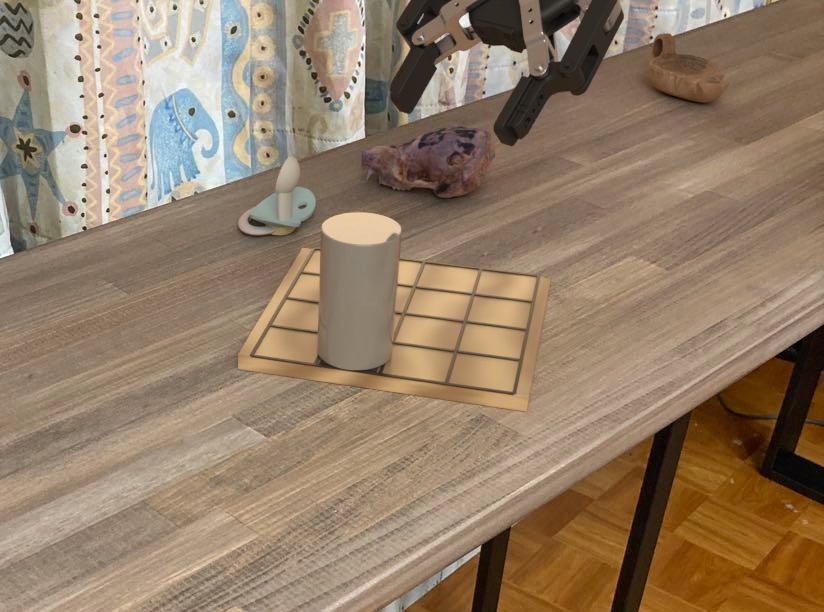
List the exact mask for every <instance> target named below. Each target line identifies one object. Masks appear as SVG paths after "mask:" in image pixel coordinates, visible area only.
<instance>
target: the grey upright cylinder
mask: <svg viewBox="0 0 824 612" xmlns="http://www.w3.org/2000/svg"><path fill="white" fill-rule="evenodd" d="M402 235H403V229H402V226H401V224H400V223H398V222H397V221H396V220H394V219H393V218H391V217H388V216H386V215H382V214H378V213H373V212H361V211H359V212H356V211H355V212H345V213H339V214H336V215H333V216H331V217H329V218H327V219H325V221H324V222H322V223H321V226H320V246H319V248H320V276H319V307H318V339H317V352H318V355H319V357H320V358H321V359H322V360H323V361H324V362H326V363H327V364H329V365H331V366H334V367H337V368H340V369H345V370H368V369H373V368H377V367H379V366H382V365H383V364H385V363H386V362H388V361H389V359H390V358H391V356H392V351H393V338H394V326H395V313H396V301H397V288H398V275H399V263H400V258H401V249H402Z"/></svg>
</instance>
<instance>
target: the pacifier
mask: <svg viewBox="0 0 824 612" xmlns="http://www.w3.org/2000/svg"><path fill="white" fill-rule="evenodd" d="M298 161H299V160H297V159H296V158H295V157H294V156H292V155H290V156H288V157H286V159H285V160H284V162H283V164H282V166H281V168H280V170H279V173H278V176H277V179H276V182H275V187H274V188H275V189H274V190H275V191H274V192H273V193H272V194H270V195H269V196H267V197H266V198H264V199H263V200H262V201H261V202H259V203H258V204H257V205H256V206H253V207H251V208H249V209H248V210H246V211H245V212H243V213H242V214H241V216H240V217H238V218H239V219H238V221H237V227H238V228H239V230H240V231H241V232H243V233H244V234H247V235H251V236H267V235H272V236H286V235H290V234H292V233H293V232H294V231H295V230H296V229H297V228H300V227H301V223H302V222H304V221H306V220H308V219H310V218H311V216H313V214H314V212H315V209H316V205H317V202H316V201H317V199H316V197H315V194H314V193H313V192H312V191H311V190H309V189H308V188H306V187H303V186H297V185H298V183H299V180H300V177H301V165H300V164H299V162H298ZM301 206H305V207H304V208H299V207H301ZM251 220H254V221H256V222H259V223H262V224H265V225H264V226H256V225H252V224H251V223H250V222H251Z"/></svg>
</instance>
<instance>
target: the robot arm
mask: <svg viewBox="0 0 824 612" xmlns="http://www.w3.org/2000/svg"><path fill="white" fill-rule="evenodd" d="M467 14H468V21H469V22H468V23H469V24H470V25H469V26H466V27H465V26H464V27H463V26H462V25H461V23H460V20H461V19H462V18H463V17H464V16H465V15H467ZM577 18H578V19H579V25H578V26H577V28H576V30H575V32H574V35H572V38H571V40H570V42H569V44H568V45H567V48H566V49H565V51H564V54H563V56H562V58H561V60H559V55H558V46H557V40H556V38H557V37H556V33H557V32H558V31H560V30H562V29H563V28H564V27H566V26H567V25H569V24H571V23H572V22H574V21H575V20H577ZM624 19H625V13H624V11H623V8H622V4H621V2H620V0H409V2H408V3H407V5H406V6H405V8H404V10H403V11H402V12H401V14H400V16H399V18H398V19H397V21H396V24H395V27H396V29H397V31H398V32H399V34H400V36H401V37H402V38H403V40H404V41H405V43H406V44H407V46H408V48H409V50H408V53H407V54H406V56H405V58H404V59H403V61H402V63H401V65H400V66H399V68H398V70H397V72H396V73H395V76H394V77H393V79H392V80H391V82H390V86H389V91H390V93H389V94H390V96H389V97H390V100H391V102H392V104H393V105H394V106H395V107H396V109H397V110H398V111H399V112H400V113H403V114H406V115H411V114H412V113H413V112H414V110H415V109H416V106H417V105H418V103H419V102H420V99H421V98H422V96H423V94H424V92H425V91H426V89H427V87H428V85H429V84H430V82H431V80H432V79H433V77H434V75H435V74H436V72H437V70H438V68H437V65H438V64H440V63H441V62H442V61H444V60H445V59H448V57H450V56H452V55H453V54H455V53H457V52H458V51H461V52H466V51H468V50H471V49H472V48H474V47H475V46H477V45H479V43H481V42H482V44H483V45H487V46H490V47H500V46H501V47H502V46H504V47H505V48H507V49H508V50H510V51H511V52H516V53H518V54H522V53H524V51H525V50H526V54H527V62H528V71H529V75H528V76H525V75H521V76H520V79H519V80H518V82H517V83H516V85H515V87H514V89H513V91H512V92H511V94H510V96H509V98H508V99H507V100H506V103H505V104H504V106H503V108H502V109H501V111H500V112H499V114H498V116H497V118H496V119H495V121H494V124H493V133H494V134H495V136H496V137H497V139H498V140H499V142H500V143H501V144H502V145H505V146H509V147H514V146H515V145H516V143H517V142H518V140H523V139H524V138H525V137H526V136H527V135H528V134H529V133H530V131H531V130H532V128H533V126H534V124H535V122H536V121H537V119H538V117H539V115H540V114H541V112H542V110H543V109H544V108H545V105H546V103H547V102H548V101H549V99H551V98H552V97H554V96H556V95H557V94H559V93H567V92H570V94H571V95H572V96H577V97H579V96H581V95H583V94H585V93H586V92H587V90H588V89H589V87H590V86H591V83H592V82H593V79H594V77H595V76H596V73H597V72H598V69H599V68H600V66H601V64H602V62H603V59H604V58H605V56H606V54H607V53H608V51H609V48H610V46H611V45H612V43H613V41H614V39H615V37H616V36H617V35H616V34H617V33H618V31H619V29H620V26H621V25H622V24H623V22H624ZM446 34H447V35H446ZM444 35H445V36H444ZM443 36H444V37H443ZM441 37H442V38H441ZM439 38H441V39H439ZM438 39H439V40H438ZM437 40H438V41H437Z"/></svg>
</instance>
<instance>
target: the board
mask: <svg viewBox="0 0 824 612" xmlns="http://www.w3.org/2000/svg"><path fill="white" fill-rule="evenodd" d="M319 276H320V247H316V246H314V247H312V248H308V247H301V248H300V251H299V252H298V254H297V256H296V257H295V259H294V261H293V262H292V264H291V265H290V267H289V268H288V270H287V272H286V273H285V275H284V277H283V279H282V280H281V282H280V284H279V285H278V287H277V289H276V290H275V292H274V294H273V295H272V296H271V298H270V300H269V301H268V304H267V305H266V307H265V309H264V310H263V312H262V314H261V315H260V317H259V318H258V320H257V322H256V324H255V325H254V327H253V328H252V330H251V332H250V333H249V335H248V337H247V338H246V340H245V342H244V343H243V345H242V346H241V348H240V350H239V351H238V353H237V370H241V371H248V372H255V373H261V374H268V375H275V376H283V377H288V378H295V379H301V380H309V381H315V382H322V383H329V384H334V385H335V384H336V385H342V386H343V385H344V386H350V387H356V388H363V389H369V390H375V391H376V390H377V391H383V392H389V393H397V394H404V395H410V396H417V397H423V398H431V399H438V400H445V401H451V402H457V403H465V404H470V405H471V404H473V405H479V406H485V407H492V408H500V409H505V410H512V411H520V412H528V407H529V403H530V396H531V391H532V386H533V380H534V376H535V372H536V371H535V370H536V365H537V361H538V354H539V350H540V344H541V339H542V333H543V328H544V323H545V318H546V311H547V306H548V300H549V296H550V290H551V285H552V278H550V277H542V276H541V275H539V274H535V273H527V272H520V271H511V270H503V269H494V268H486V267H478V266H471V265H470V266H469V265H462V264H454V263H447V262H446V263H445V262H438V261H430V260H421V259H414V258H405V257H400V263H399V275H398V288H397V301H396V313H395V326H394V338H393V351H392V356H391V358H390V359H389V361H388V362H386V363H385V364H383V365H382V366H379V367H377V368H373V369H368V370H345V369H340V368H337V367H334V366H331V365H329V364H327V363H326V362H324V361H323V360H322V359H321V358H320V357H319V355H318V352H317V339H318V307H319Z"/></svg>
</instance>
